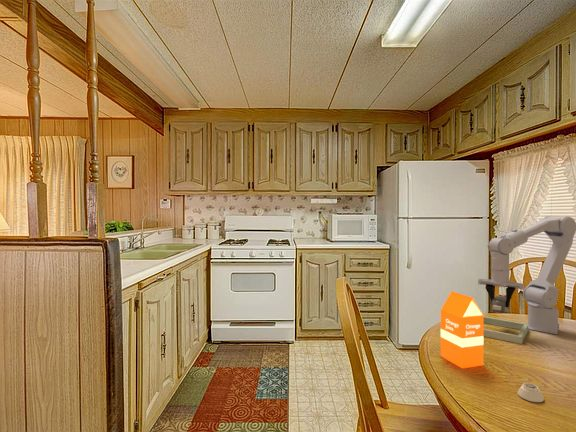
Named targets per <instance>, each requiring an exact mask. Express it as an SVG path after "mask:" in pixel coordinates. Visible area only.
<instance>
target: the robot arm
mask: <svg viewBox="0 0 576 432" xmlns="http://www.w3.org/2000/svg"><path fill="white" fill-rule="evenodd" d="M543 232H544V234H546V236H547V237H548V238H549V240H551V241H552V244H551V247H550V249H549V250H548V251H549V252H547V256H546V258H545V260H544V262H543V264H542V266H541V269H540V270H539V273H538V276H537V277H536V278H535V279H533V280H531V281H530V282H529V283H528V285H526V287H525V284H524V283H523V282H522V283H521V282H514V281H510V254H511V253H512V252H513V250H514V248H518V247H519V246H522V245H523V244H526V243H527V242H528V240H529V238H531V237H533V236H535V235H536V236H537V235H539V234H541V233H543ZM575 234H576V221H575V219H574V217H571V216H545V217H543V218H542V217H541V218H539V220H538V221H536V222H535V223H533V224H531V225H529V226H527V227H526V228H524V229H519V228H518V229H517V228H513V229H511V231H510V232H508V233H506V234H502V235H500V237H493V238H491V240H489V242H488V244H487V249H488V250H489V253H490V256H491V260H490V261H491V263H490V264H491V266H490V267H491V268H490V269H491V277H490V278H491V279H487V278H478V280H477V285H482V286H483V285H485V290H486V292H487V293H488V296H489V298H490V302H491V303H490V304H492V300H493V299H494V298H495V297H496V295H495V292H496V287H502V288H505V297H506V307H508V308H510V303H511V299H512V297H513V295H514V293H515V292H516V291H515V290H523V291H522V296H523V299H524V300H525V301H526V304H527V324H528V330H533V331H536V332H541V333H546V334H547V333H549V334H552V335H553V334H554V335H558V333H559V329H560V323H559V308H557V307H555V306H556V305H557V301H558V296H559V295H558V294H559V292H560V291H559V290H558V288H557V287H556V286H555V283H556V282H557V279H558V277H559V274H560V273H561V270H562V268H563V266H564V263H565V261H566V259H567V258H568V257H567V256H568V254H569V252H570V250H571V248H572V246H573V243H574V236H575Z"/></svg>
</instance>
